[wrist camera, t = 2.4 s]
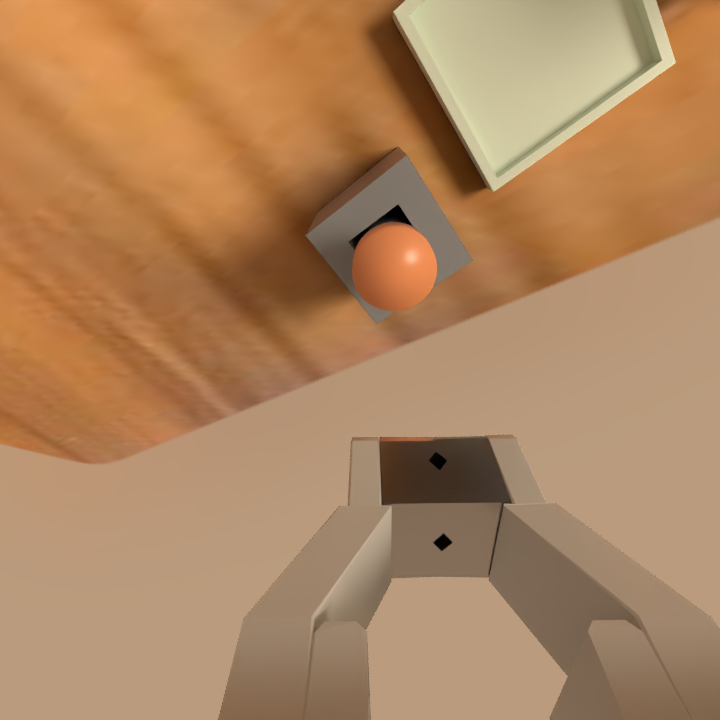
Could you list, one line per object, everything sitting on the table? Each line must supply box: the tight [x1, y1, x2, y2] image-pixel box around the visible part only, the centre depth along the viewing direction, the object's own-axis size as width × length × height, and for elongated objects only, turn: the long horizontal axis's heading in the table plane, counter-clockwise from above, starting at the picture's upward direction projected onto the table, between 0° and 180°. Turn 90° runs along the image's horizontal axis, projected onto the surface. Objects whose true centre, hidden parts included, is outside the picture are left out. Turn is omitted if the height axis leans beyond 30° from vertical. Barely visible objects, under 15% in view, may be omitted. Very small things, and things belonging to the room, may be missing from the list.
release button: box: [352, 215, 437, 311], centre depth 20 cm, size 4×4×6 cm
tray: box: [392, 0, 676, 192], centre depth 21 cm, size 10×10×2 cm
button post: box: [306, 147, 473, 324], centre depth 24 cm, size 6×6×6 cm
